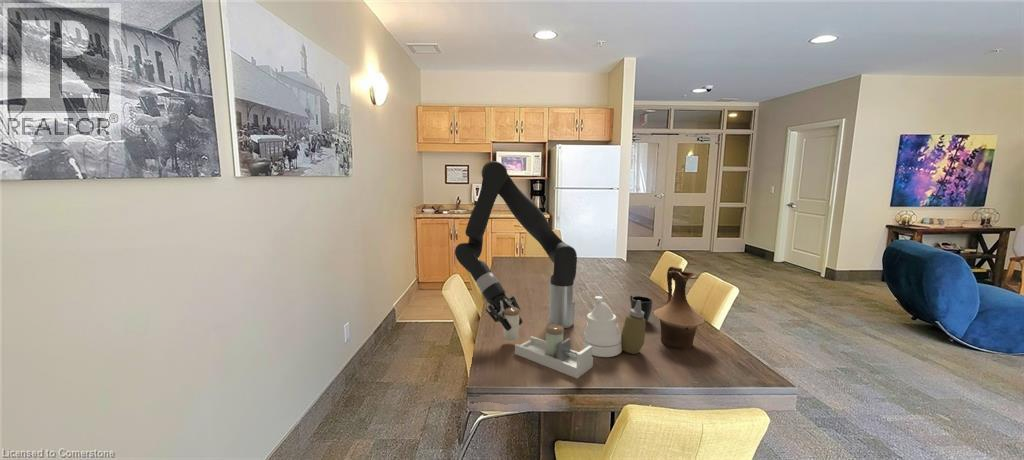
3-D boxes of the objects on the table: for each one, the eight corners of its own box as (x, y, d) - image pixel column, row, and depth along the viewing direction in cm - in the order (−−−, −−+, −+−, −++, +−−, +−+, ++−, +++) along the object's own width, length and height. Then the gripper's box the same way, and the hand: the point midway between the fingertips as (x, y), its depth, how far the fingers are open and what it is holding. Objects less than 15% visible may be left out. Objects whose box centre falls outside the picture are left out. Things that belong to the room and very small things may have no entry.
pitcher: (642, 334, 146) (647, 263, 142) (681, 331, 150) (687, 262, 146) (670, 355, 129) (676, 275, 125) (713, 351, 133) (721, 273, 129)
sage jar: (555, 351, 128) (556, 323, 127) (566, 358, 123) (567, 329, 122) (541, 355, 125) (542, 326, 124) (551, 362, 120) (552, 332, 119)
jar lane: (514, 353, 129) (515, 333, 128) (531, 344, 136) (532, 325, 135) (577, 378, 113) (578, 355, 112) (592, 366, 121) (593, 345, 120)
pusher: (556, 363, 120) (556, 345, 119) (567, 355, 125) (568, 338, 124) (569, 368, 117) (570, 349, 116) (580, 360, 122) (581, 342, 121)
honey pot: (576, 345, 136) (575, 296, 134) (605, 338, 141) (605, 291, 139) (598, 360, 124) (598, 307, 122) (629, 351, 130) (629, 300, 127)
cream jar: (514, 332, 140) (514, 306, 138) (522, 338, 135) (522, 311, 133) (500, 335, 137) (500, 308, 135) (508, 341, 132) (508, 314, 130)
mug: (639, 313, 169) (640, 292, 167) (654, 323, 157) (656, 301, 156) (622, 314, 167) (623, 293, 166) (636, 325, 155) (638, 302, 154)
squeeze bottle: (630, 357, 127) (639, 305, 124) (613, 346, 134) (622, 297, 131) (647, 354, 130) (657, 304, 128) (629, 343, 137) (638, 296, 135)
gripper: (481, 286, 132) (507, 327, 126) (508, 277, 143) (533, 315, 137) (471, 297, 136) (496, 338, 131) (497, 288, 147) (521, 325, 142)
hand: (515, 326), depth 134 cm, fingers closed on cream jar, 5 cm apart
